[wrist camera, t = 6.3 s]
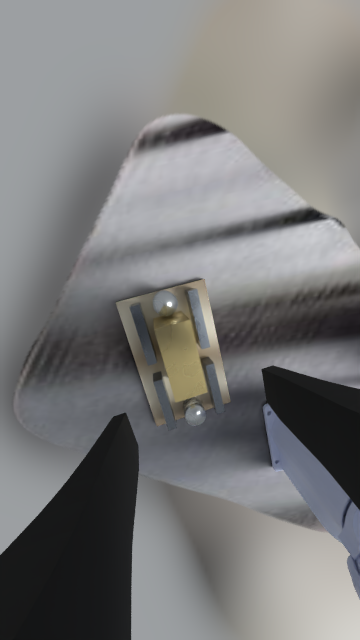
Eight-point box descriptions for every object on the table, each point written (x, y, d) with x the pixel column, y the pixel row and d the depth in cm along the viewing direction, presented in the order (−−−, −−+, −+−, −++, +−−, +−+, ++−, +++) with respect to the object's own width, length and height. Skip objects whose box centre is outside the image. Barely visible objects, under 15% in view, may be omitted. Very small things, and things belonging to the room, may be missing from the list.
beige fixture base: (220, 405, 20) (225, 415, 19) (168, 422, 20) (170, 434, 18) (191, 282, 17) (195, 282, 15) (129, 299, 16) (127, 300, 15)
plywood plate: (228, 398, 21) (230, 401, 20) (156, 422, 20) (156, 426, 19) (202, 279, 18) (204, 279, 17) (116, 301, 17) (115, 302, 16)
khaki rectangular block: (195, 369, 19) (207, 392, 15) (170, 377, 19) (175, 402, 15) (180, 310, 17) (190, 319, 14) (153, 318, 17) (154, 329, 13)
